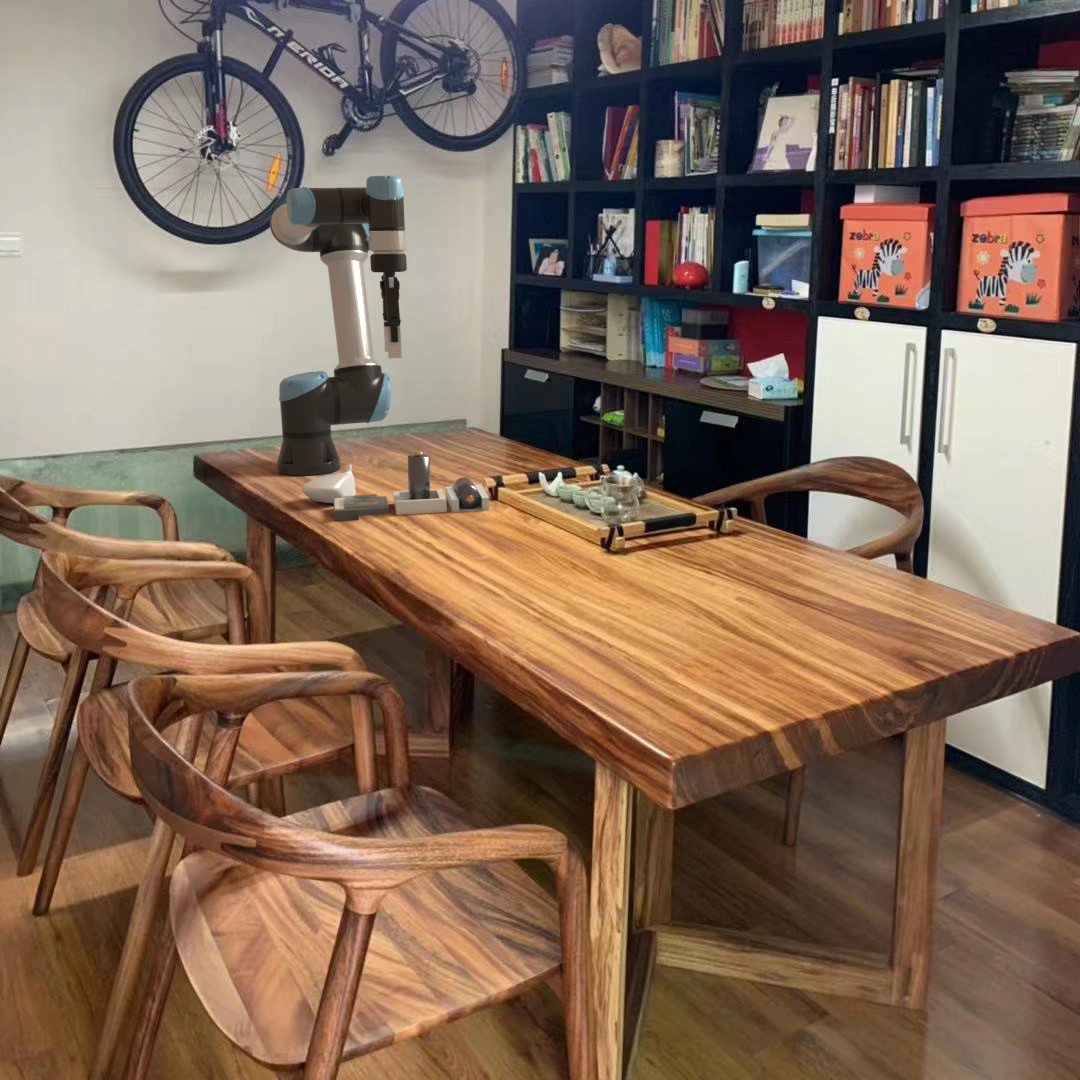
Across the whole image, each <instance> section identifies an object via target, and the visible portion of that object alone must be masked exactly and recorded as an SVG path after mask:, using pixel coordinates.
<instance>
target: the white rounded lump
mask: <svg viewBox="0 0 1080 1080" xmlns="http://www.w3.org/2000/svg"><path fill="white" fill-rule="evenodd" d="M352 470H353V466H352V464H349V463H348V464H346V467H345V471H344V472H341V473H334V474H327V475H322V476H319V477H315V478H313V479H311V480H309V481H307V482H306V483H305V484H303V485H302V486H301V487H300V489H301V492H303V495H305V496H307V497H308V498H309V499H311V500H312V501H314V502H316V503H324V504H334V498H343V496H355V495H357V493H356V491H357V490H356V484H355V483H356V482H355V475H354V474H353V472H352Z"/></svg>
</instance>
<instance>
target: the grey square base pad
mask: <svg viewBox="0 0 1080 1080" xmlns="http://www.w3.org/2000/svg"><path fill="white" fill-rule="evenodd" d="M377 498H378V506H376V507H359V508H344V503H343V498H334V503H333V515H334V521H335V522H336V521H337V522H338V521H339V522H340V521H352V520H353V521H354V520H360V517H359V516H370V515H371V516H372V515H387V514H390V508H389V504H388V503H389V502H388V498H387V496H385V495H383V496H377Z"/></svg>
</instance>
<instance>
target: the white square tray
mask: <svg viewBox="0 0 1080 1080" xmlns="http://www.w3.org/2000/svg"><path fill="white" fill-rule="evenodd" d="M392 496H393V497H392V498H393V507H394V511H395V514H396V516H403V515H419V514H420V515H421V514H434V513H435V514H436V513H447V512H448V511H447V510H448V509H447V507H448V505H447V504H448V503H447V499H446V494H444V491H443V488H430V499H419V500H409V490H396V491H392Z"/></svg>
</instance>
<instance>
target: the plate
mask: <svg viewBox="0 0 1080 1080" xmlns="http://www.w3.org/2000/svg"><path fill="white" fill-rule="evenodd" d="M377 497H378V495H377V493H375V494H360V495H359V494H358V495H357V494H355V496H343V503H344V508H359V507H376V506H378V498H377Z"/></svg>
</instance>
